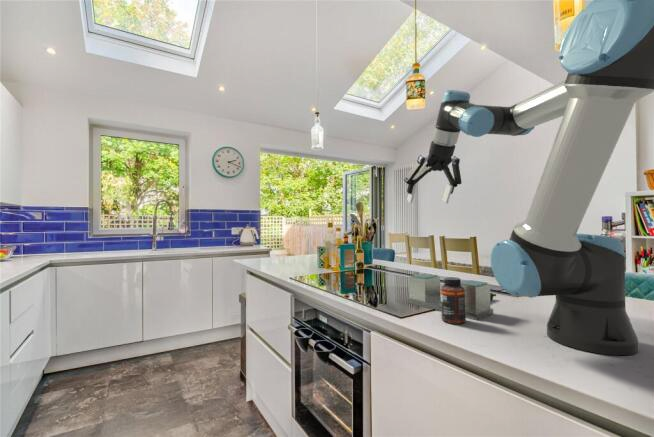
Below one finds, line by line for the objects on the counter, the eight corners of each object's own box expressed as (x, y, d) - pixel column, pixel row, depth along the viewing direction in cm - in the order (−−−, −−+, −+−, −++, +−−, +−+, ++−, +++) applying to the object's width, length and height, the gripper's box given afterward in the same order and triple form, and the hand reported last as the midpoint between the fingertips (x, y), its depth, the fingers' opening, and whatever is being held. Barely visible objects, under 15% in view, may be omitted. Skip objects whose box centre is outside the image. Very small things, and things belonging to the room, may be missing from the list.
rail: (493, 314, 89) (492, 282, 89) (476, 320, 83) (476, 286, 83) (424, 298, 107) (423, 272, 107) (407, 303, 102) (406, 275, 102)
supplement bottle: (467, 319, 84) (466, 277, 84) (463, 326, 79) (463, 281, 79) (443, 316, 87) (443, 275, 87) (438, 322, 82) (438, 278, 82)
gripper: (471, 140, 106) (453, 196, 116) (402, 137, 101) (390, 196, 112) (485, 147, 100) (464, 206, 110) (412, 144, 95) (398, 206, 105)
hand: (427, 201), depth 111 cm, fingers open, 13 cm apart
